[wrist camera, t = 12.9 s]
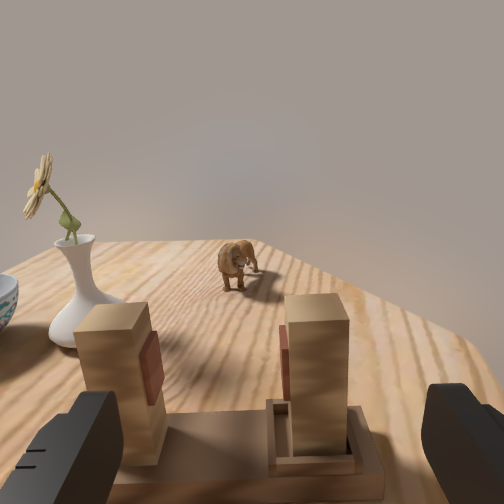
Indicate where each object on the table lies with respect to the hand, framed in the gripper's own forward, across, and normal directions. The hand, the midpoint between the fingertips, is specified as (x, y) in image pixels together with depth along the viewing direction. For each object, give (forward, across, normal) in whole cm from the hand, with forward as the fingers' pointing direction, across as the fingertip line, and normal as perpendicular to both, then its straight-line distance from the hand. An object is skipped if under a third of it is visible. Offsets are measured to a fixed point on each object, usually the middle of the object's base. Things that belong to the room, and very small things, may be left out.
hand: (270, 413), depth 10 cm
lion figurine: (+54, +2, +21) cm, 58 cm away
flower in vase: (+39, +23, +22) cm, 50 cm away
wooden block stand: (+16, +2, +20) cm, 26 cm away
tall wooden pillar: (+16, -4, +18) cm, 24 cm away
